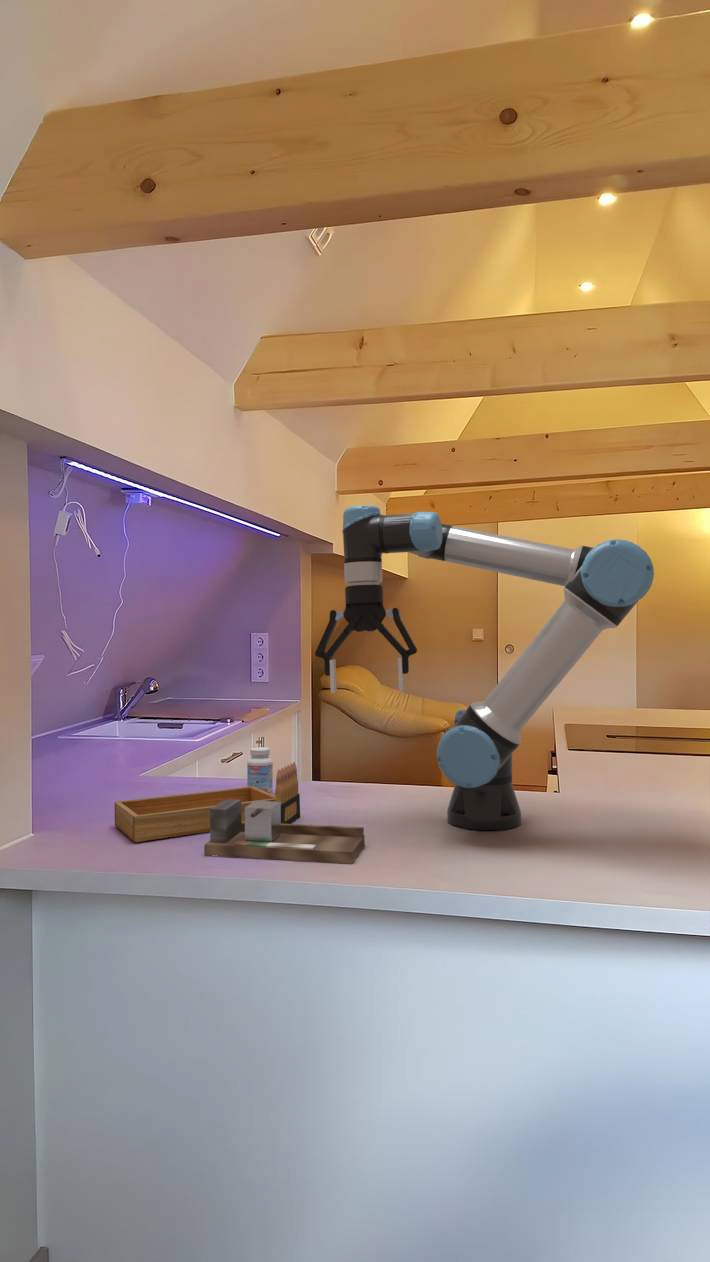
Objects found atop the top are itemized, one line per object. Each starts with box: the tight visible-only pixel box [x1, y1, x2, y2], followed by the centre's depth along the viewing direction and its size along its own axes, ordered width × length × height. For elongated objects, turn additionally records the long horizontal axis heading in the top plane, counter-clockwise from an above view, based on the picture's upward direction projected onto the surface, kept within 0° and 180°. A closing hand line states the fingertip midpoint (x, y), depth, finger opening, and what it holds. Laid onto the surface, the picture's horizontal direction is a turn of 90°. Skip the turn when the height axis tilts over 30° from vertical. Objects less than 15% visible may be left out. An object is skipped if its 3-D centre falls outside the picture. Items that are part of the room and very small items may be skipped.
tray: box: [114, 786, 275, 843], centre depth 161 cm, size 31×15×6 cm, turn 121°
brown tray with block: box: [203, 799, 366, 865], centre depth 141 cm, size 27×11×8 cm, turn 78°
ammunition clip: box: [274, 761, 301, 824], centre depth 161 cm, size 11×2×12 cm, turn 164°
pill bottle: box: [246, 746, 274, 795], centre depth 187 cm, size 6×6×11 cm
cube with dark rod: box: [245, 801, 281, 842], centre depth 141 cm, size 5×9×6 cm, turn 168°
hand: (367, 691), depth 155 cm, fingers open, 13 cm apart
